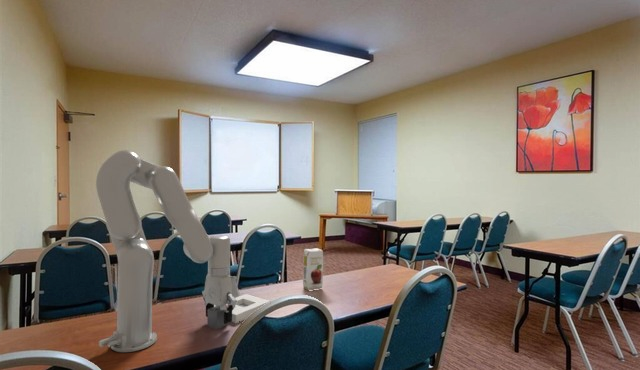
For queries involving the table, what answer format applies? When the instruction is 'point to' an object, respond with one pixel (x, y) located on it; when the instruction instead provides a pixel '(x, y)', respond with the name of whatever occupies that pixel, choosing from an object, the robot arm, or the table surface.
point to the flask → (234, 287)
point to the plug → (216, 317)
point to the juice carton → (313, 269)
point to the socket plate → (246, 307)
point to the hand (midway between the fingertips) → (218, 318)
